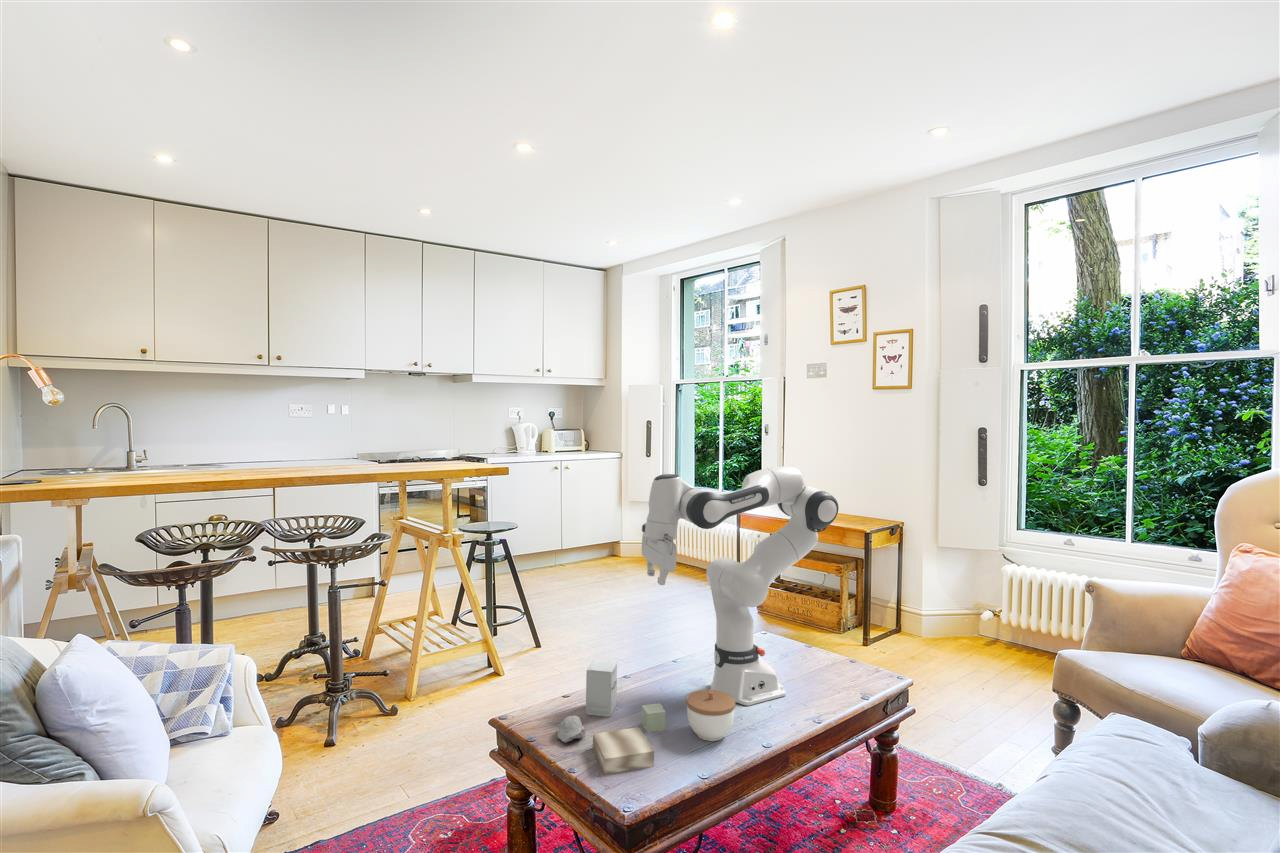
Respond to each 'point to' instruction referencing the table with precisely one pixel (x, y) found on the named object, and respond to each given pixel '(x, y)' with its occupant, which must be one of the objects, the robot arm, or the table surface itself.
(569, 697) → the table surface
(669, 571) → the robot arm
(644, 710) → the sage cube
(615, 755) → the ash block
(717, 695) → the lidded bowl
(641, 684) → the table surface
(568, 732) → the white clam shell
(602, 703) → the supplement box
